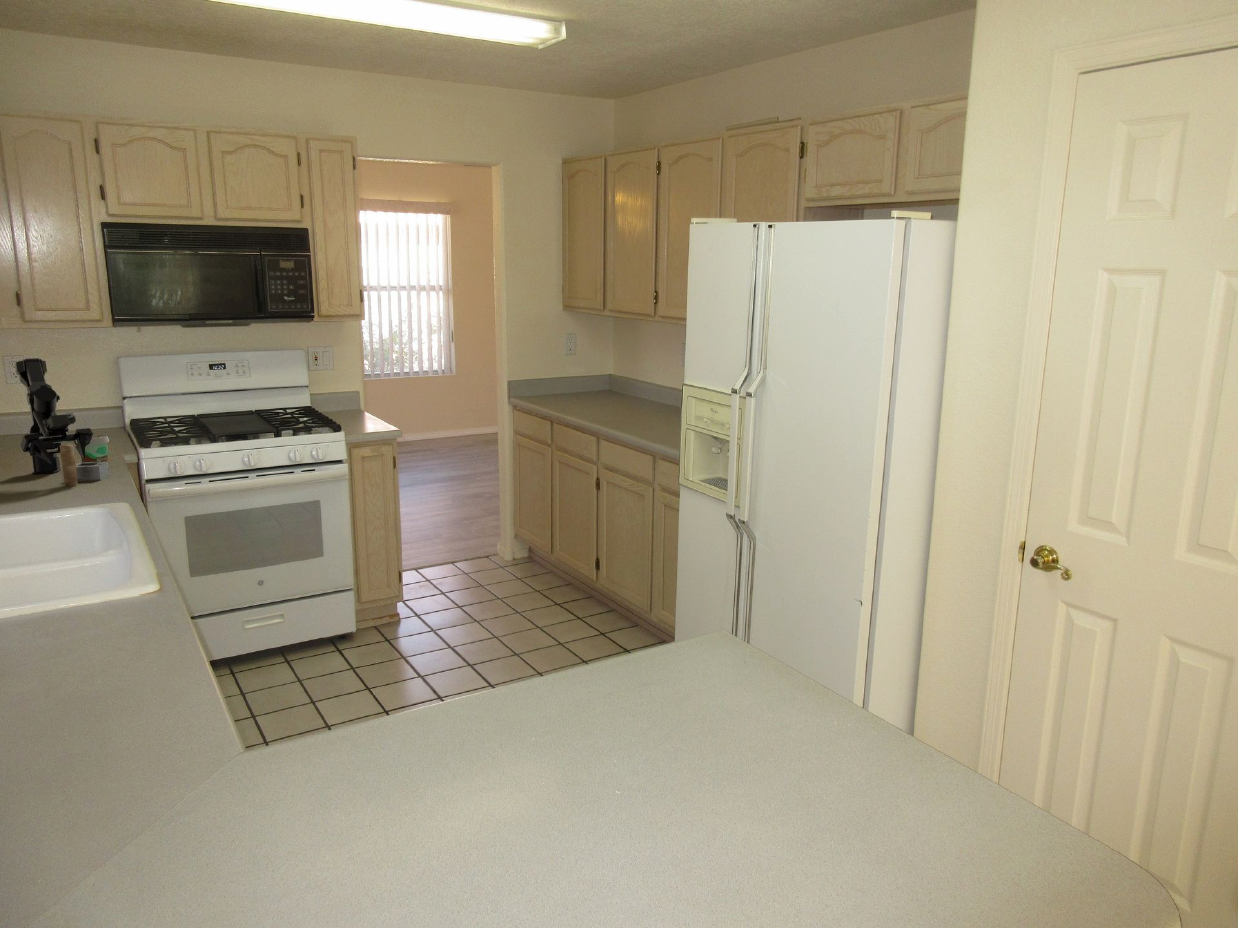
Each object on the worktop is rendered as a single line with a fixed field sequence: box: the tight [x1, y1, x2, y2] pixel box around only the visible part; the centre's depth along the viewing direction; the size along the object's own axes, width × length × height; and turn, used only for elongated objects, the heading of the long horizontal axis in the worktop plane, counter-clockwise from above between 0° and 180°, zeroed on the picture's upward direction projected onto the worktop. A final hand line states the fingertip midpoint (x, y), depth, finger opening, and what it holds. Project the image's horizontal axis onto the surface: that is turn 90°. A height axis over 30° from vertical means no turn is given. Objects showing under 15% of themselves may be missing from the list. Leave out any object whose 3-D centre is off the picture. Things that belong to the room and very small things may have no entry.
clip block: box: [75, 461, 111, 482], centre depth 279 cm, size 9×9×4 cm
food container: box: [80, 434, 110, 462], centre depth 301 cm, size 12×6×10 cm, turn 179°
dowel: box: [59, 444, 79, 488], centre depth 267 cm, size 4×4×12 cm
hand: (68, 460), depth 267 cm, fingers open, 9 cm apart
